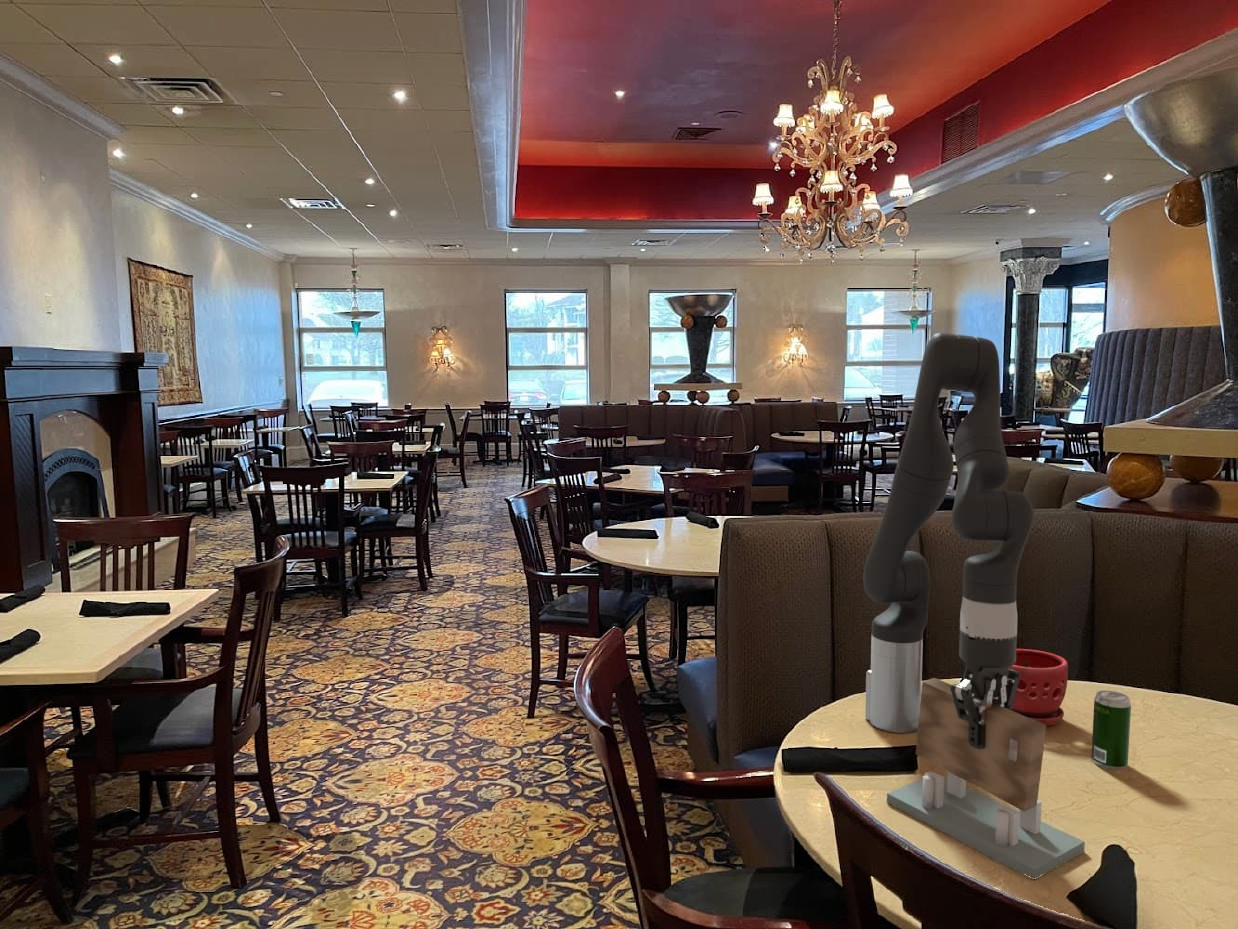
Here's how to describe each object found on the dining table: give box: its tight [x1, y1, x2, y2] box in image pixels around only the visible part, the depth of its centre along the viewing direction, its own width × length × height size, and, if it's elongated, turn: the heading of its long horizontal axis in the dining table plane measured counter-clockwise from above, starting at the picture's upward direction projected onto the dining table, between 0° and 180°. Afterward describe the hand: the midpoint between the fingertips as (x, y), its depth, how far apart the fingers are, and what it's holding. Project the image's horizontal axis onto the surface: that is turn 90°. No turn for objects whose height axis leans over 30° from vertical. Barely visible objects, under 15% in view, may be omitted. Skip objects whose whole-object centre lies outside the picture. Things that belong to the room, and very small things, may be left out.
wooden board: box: [915, 677, 1047, 812], centre depth 121 cm, size 18×3×12 cm, turn 33°
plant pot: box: [1006, 648, 1069, 727], centre depth 160 cm, size 13×13×12 cm
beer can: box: [1091, 690, 1132, 771], centre depth 140 cm, size 5×5×12 cm
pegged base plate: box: [886, 771, 1086, 879], centre depth 121 cm, size 24×12×6 cm, turn 32°
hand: (984, 743), depth 120 cm, fingers closed on wooden board, 3 cm apart
